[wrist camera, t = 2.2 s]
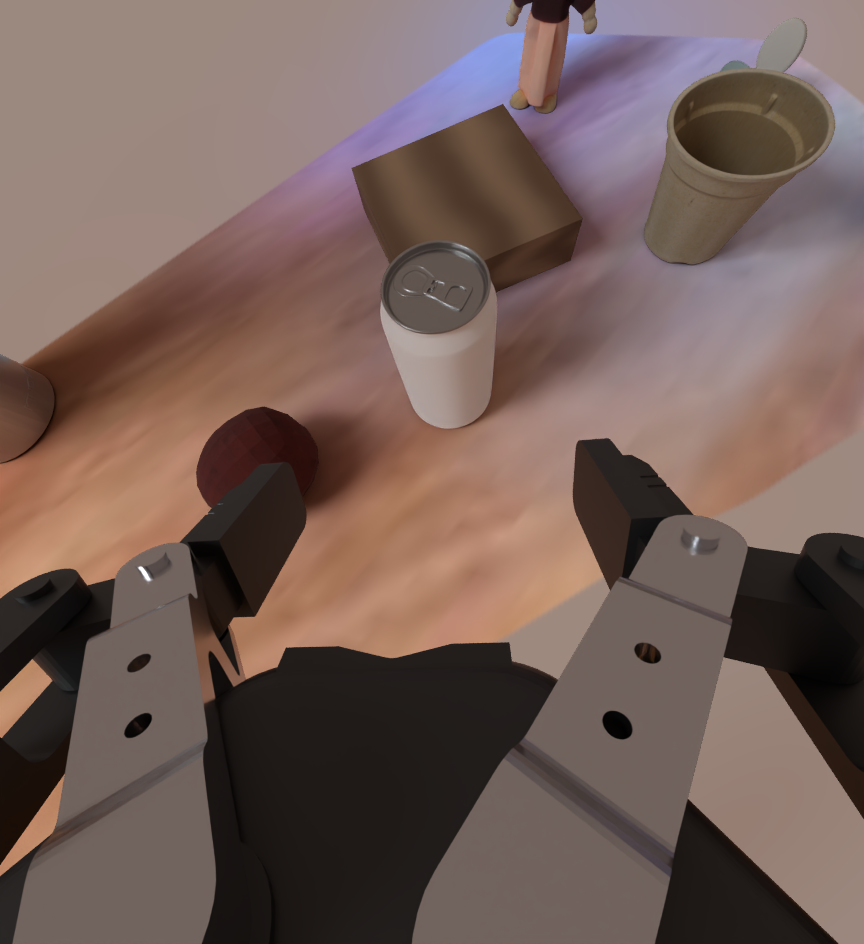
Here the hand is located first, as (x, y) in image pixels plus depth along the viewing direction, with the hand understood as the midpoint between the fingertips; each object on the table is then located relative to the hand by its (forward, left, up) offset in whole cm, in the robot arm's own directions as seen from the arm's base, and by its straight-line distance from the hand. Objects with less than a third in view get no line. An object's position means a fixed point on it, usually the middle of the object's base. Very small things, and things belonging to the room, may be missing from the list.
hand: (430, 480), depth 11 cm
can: (+4, +11, -18) cm, 21 cm away
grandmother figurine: (+24, +36, -18) cm, 47 cm away
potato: (-11, +10, -18) cm, 23 cm away
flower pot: (+27, +16, -18) cm, 36 cm away
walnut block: (+11, +25, -18) cm, 33 cm away
